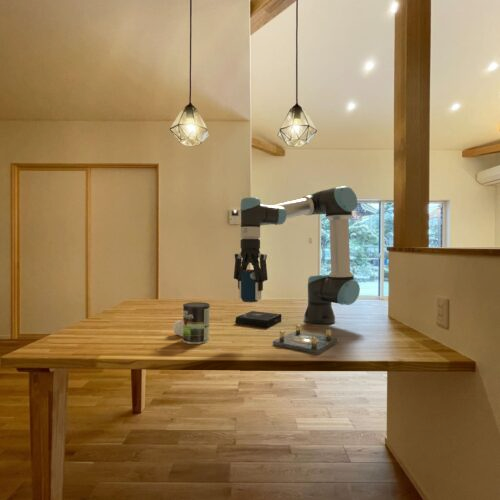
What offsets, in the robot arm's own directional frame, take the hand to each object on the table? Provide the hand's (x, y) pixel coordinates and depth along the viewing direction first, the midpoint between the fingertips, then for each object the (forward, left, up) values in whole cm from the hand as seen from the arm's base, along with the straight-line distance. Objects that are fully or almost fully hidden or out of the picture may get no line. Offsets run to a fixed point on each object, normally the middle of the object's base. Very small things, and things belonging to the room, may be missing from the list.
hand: (250, 298), depth 121 cm
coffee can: (+10, -18, -17) cm, 27 cm away
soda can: (0, 0, -1) cm, 1 cm away
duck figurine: (+6, -27, -17) cm, 33 cm away
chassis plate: (-12, +18, -17) cm, 27 cm away
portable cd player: (-30, -16, -18) cm, 38 cm away
